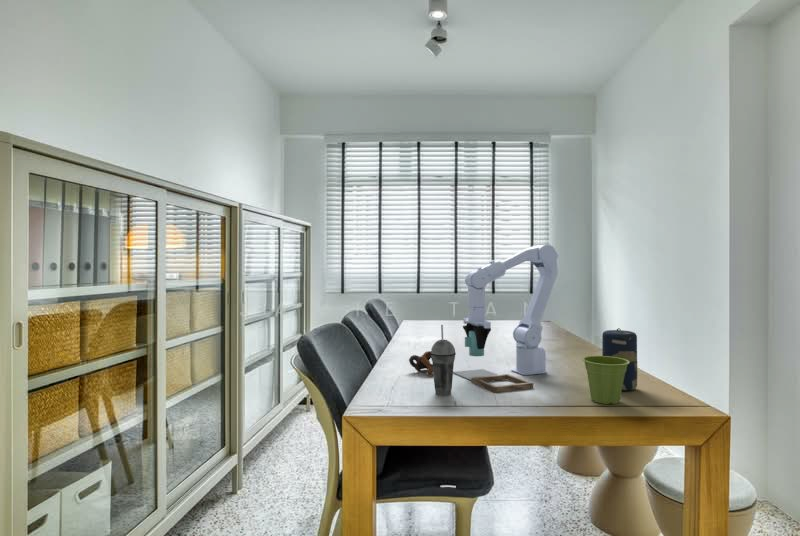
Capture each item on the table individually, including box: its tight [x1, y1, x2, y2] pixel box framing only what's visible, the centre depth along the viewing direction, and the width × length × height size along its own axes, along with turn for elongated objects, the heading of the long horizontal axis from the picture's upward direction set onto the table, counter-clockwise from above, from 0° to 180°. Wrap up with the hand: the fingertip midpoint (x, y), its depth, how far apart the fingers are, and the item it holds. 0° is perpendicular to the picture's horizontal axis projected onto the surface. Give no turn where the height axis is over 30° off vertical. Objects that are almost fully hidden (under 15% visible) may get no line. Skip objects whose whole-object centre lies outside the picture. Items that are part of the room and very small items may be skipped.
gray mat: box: [453, 368, 499, 382], centre depth 168 cm, size 12×12×1 cm
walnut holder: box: [471, 373, 534, 393], centre depth 154 cm, size 13×13×2 cm
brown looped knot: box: [408, 350, 434, 376], centre depth 173 cm, size 12×10×8 cm
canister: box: [601, 327, 638, 391], centre depth 150 cm, size 10×10×18 cm
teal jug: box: [464, 330, 485, 357], centre depth 168 cm, size 7×5×8 cm
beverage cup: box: [430, 324, 457, 397], centre depth 145 cm, size 7×7×20 cm
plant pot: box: [581, 355, 630, 405], centre depth 136 cm, size 12×12×11 cm
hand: (476, 347), depth 168 cm, fingers closed on teal jug, 5 cm apart
